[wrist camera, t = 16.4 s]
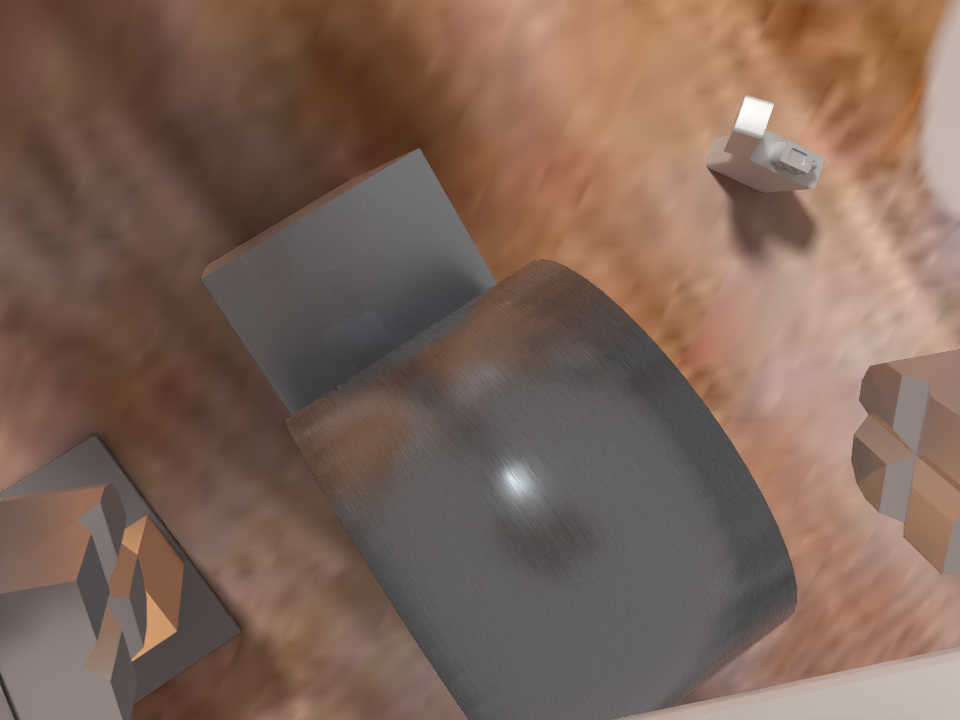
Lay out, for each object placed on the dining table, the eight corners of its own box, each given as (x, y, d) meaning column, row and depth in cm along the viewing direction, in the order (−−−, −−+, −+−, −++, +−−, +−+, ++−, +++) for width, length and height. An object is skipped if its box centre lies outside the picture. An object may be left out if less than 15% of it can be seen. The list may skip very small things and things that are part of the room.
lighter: (776, 164, 51) (875, 151, 43) (766, 193, 51) (863, 186, 43) (669, 115, 49) (753, 91, 41) (658, 145, 49) (740, 128, 41)
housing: (422, 590, 48) (677, 1027, 21) (206, 265, 43) (188, 307, 16) (545, 504, 49) (930, 815, 23) (350, 179, 44) (549, 88, 18)
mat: (22, 775, 44) (20, 781, 43) (-145, 582, 41) (-149, 586, 40) (240, 627, 46) (240, 632, 45) (96, 433, 43) (94, 435, 42)
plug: (-45, 713, 42) (-103, 818, 34) (-87, 665, 41) (-156, 761, 34) (184, 563, 44) (177, 631, 36) (147, 514, 43) (132, 573, 36)
